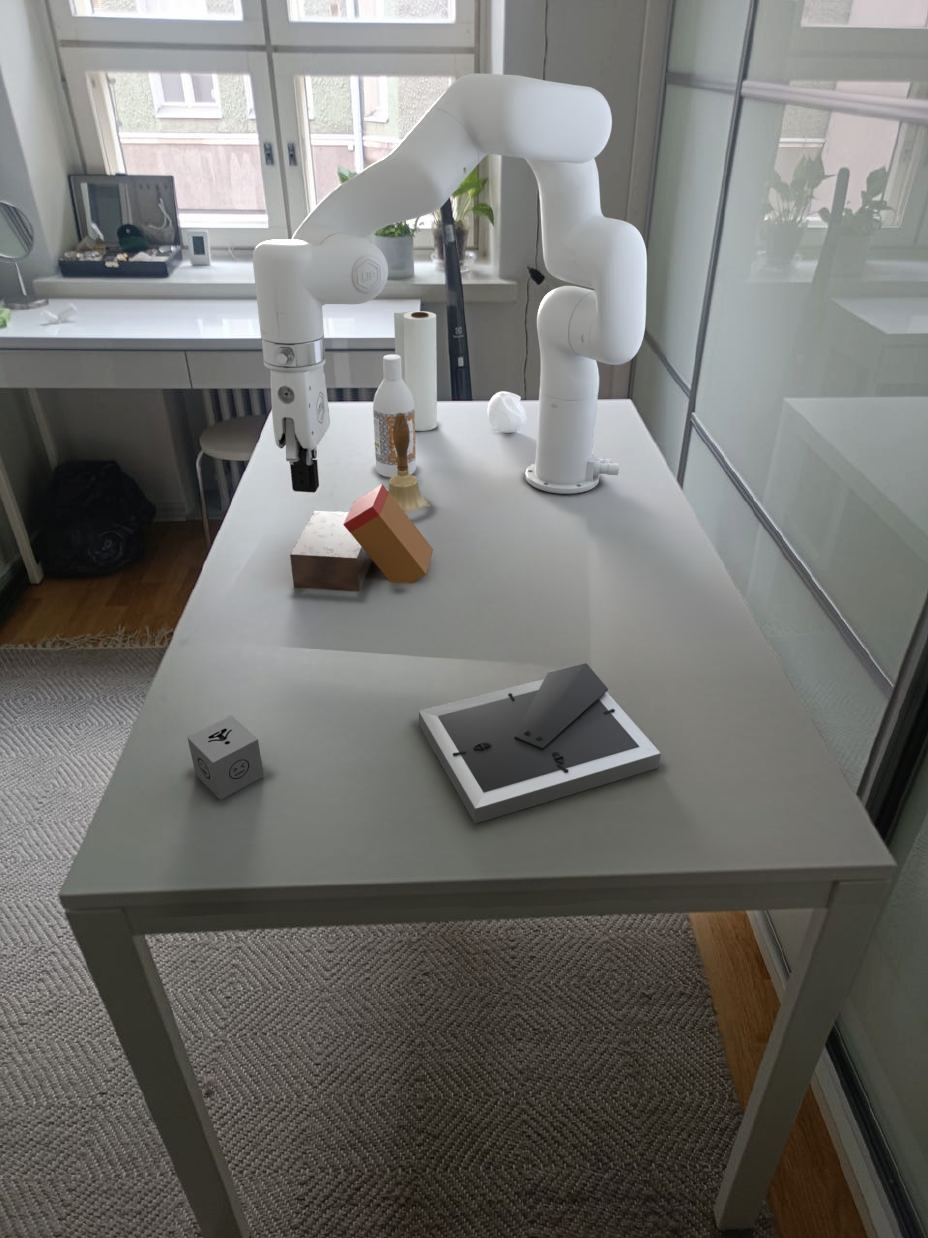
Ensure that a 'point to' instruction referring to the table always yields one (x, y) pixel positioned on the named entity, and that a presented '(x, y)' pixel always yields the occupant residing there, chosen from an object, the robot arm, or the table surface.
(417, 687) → the table surface
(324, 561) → the walnut box
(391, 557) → the container
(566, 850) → the table surface
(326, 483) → the table surface
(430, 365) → the paper towel roll
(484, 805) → the picture frame
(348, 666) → the table surface
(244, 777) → the dice cube
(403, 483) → the hand bell
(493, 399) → the crumpled paper ball
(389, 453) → the bath foam
